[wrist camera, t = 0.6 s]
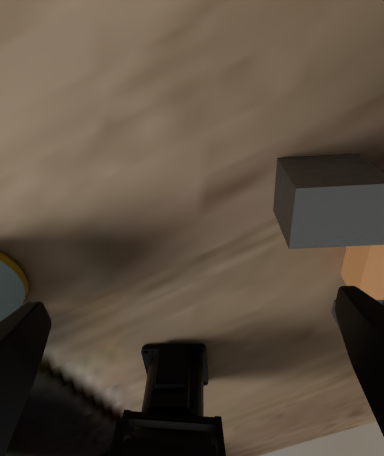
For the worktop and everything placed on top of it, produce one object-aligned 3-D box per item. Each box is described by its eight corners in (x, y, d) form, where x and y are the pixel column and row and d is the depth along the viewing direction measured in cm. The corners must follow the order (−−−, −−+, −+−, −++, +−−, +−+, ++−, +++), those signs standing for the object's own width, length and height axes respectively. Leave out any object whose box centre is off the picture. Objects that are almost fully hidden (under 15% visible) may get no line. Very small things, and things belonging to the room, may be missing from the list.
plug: (376, 311, 28) (394, 338, 25) (331, 312, 28) (344, 339, 26) (409, 215, 23) (435, 237, 20) (353, 217, 23) (372, 240, 20)
